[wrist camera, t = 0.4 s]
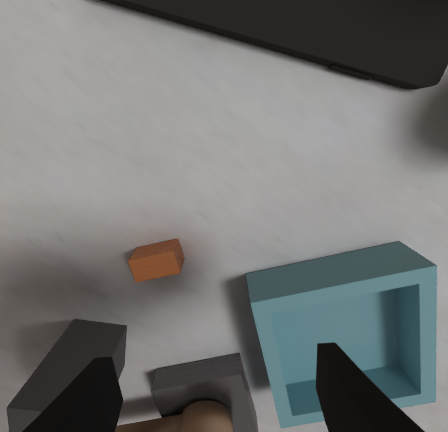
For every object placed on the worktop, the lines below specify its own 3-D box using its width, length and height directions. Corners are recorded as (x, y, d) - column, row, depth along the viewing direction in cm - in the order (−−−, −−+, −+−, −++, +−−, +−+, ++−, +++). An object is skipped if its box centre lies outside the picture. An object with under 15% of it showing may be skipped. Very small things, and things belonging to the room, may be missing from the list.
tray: (404, 361, 22) (435, 401, 19) (272, 385, 23) (280, 428, 20) (399, 241, 19) (436, 265, 16) (245, 273, 20) (250, 303, 17)
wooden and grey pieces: (256, 414, 24) (259, 438, 22) (180, 427, 25) (176, 452, 23) (206, 232, 19) (204, 244, 17) (110, 253, 19) (97, 267, 17)
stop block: (126, 325, 21) (83, 416, 15) (124, 365, 23) (83, 465, 16) (74, 318, 21) (6, 408, 14) (75, 359, 22) (12, 458, 16)
